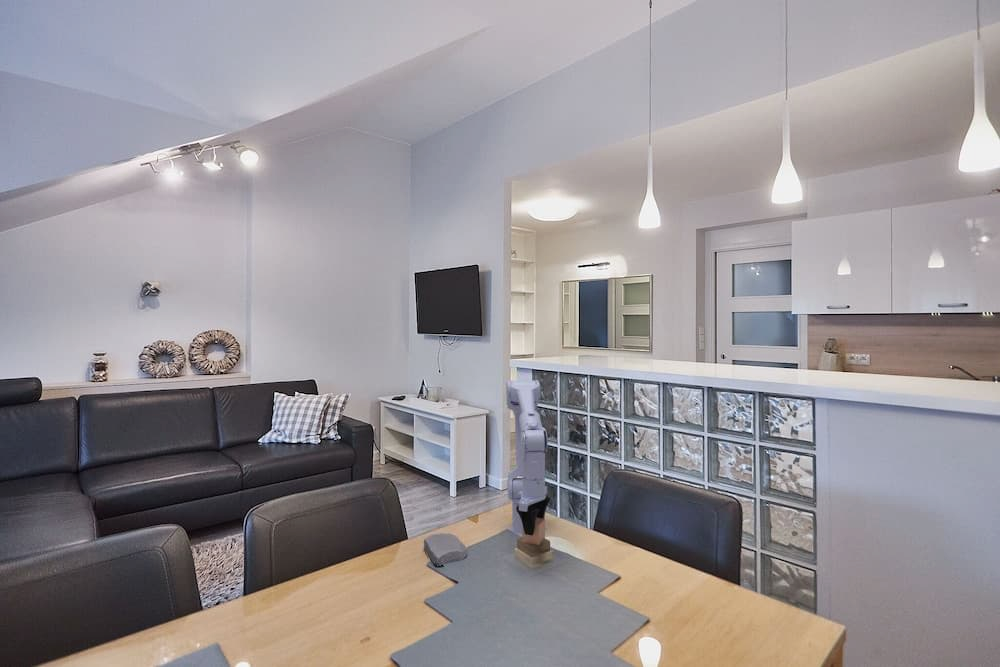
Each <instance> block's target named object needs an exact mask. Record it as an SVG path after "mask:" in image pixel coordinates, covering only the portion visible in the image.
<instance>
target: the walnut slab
mask: <svg viewBox="0 0 1000 667" xmlns="http://www.w3.org/2000/svg"><path fill="white" fill-rule="evenodd" d="M516 548H517V549H519V550H520V551H522V552H524V553H525V554H527V555H529V556H530V557H535V556H537V555H540V554H543V553H546V552H549V551H550V550H551V541H550V540H549V539H547V538H545V539H544V540H543V541H542V542H541V543H540V544H539V545H535V544H531V543H526V542H522V537H521V536H520V537H519V538H517V539H516Z"/></svg>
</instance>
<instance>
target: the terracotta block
mask: <svg viewBox="0 0 1000 667" xmlns="http://www.w3.org/2000/svg"><path fill="white" fill-rule="evenodd" d="M545 528H546V518H545V519H542V518H537V517H536V521H535V529H534V534H533V535H532V536H531V535H526V534H525V532H524V529H523V524H522V542H526V543H531V544H535V545H539V544H540V543H541V542H542V541H543V540H544V539H546V530H545Z"/></svg>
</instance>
